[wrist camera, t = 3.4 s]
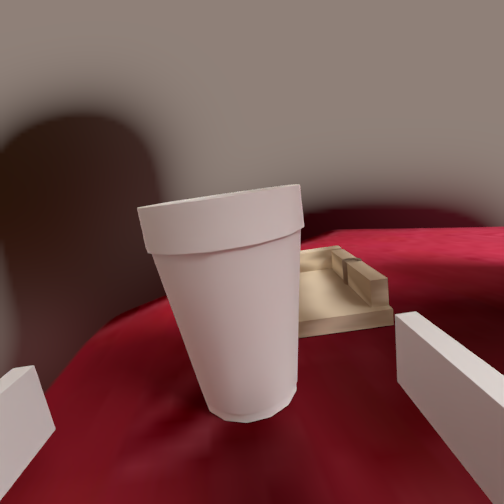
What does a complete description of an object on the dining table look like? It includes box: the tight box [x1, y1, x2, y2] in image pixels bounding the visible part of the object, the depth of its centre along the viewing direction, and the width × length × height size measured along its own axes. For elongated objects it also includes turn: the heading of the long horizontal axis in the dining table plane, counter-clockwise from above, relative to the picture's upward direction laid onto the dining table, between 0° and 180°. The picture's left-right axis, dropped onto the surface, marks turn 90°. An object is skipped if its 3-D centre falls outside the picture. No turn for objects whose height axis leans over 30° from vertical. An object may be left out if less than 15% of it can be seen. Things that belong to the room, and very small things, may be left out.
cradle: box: [298, 246, 394, 338], centre depth 33 cm, size 16×15×4 cm
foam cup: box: [137, 184, 304, 423], centre depth 19 cm, size 10×9×13 cm
